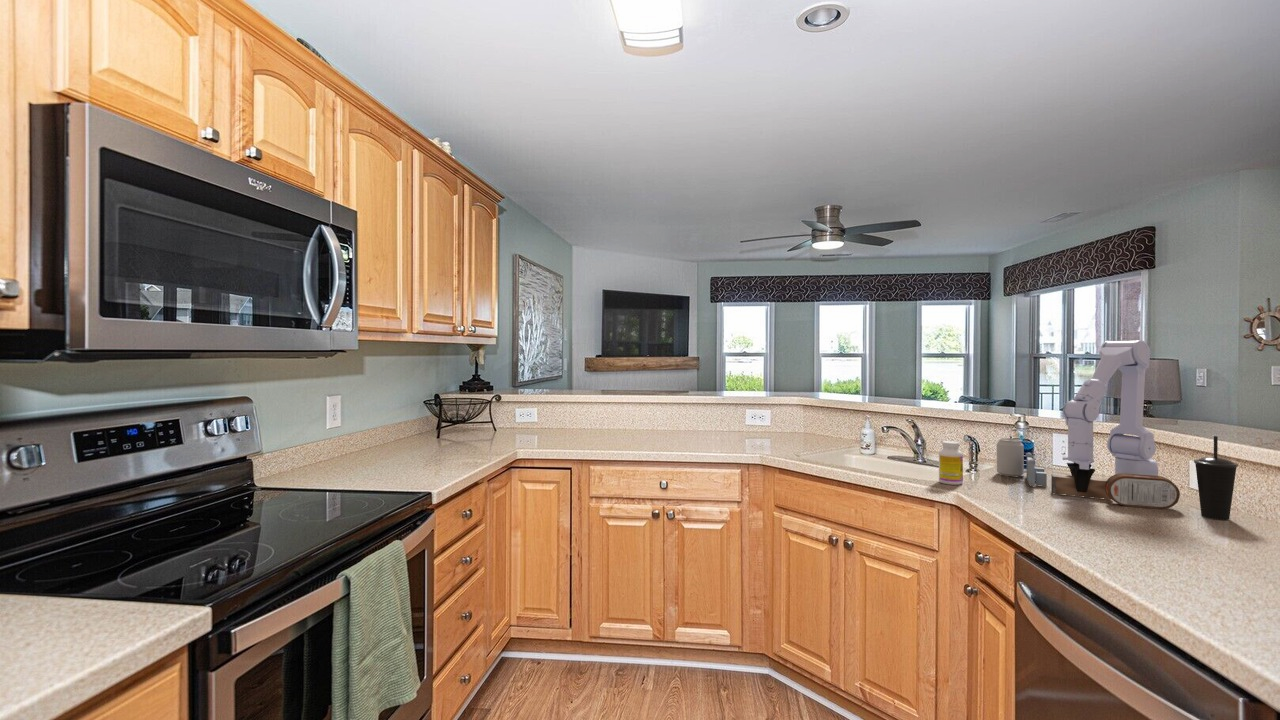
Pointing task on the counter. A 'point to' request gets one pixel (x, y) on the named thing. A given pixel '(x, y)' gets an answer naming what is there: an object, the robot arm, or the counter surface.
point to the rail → (1067, 486)
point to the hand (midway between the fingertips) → (1080, 490)
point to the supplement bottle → (950, 463)
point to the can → (1010, 457)
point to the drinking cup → (1215, 485)
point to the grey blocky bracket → (1035, 472)
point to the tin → (1142, 491)
